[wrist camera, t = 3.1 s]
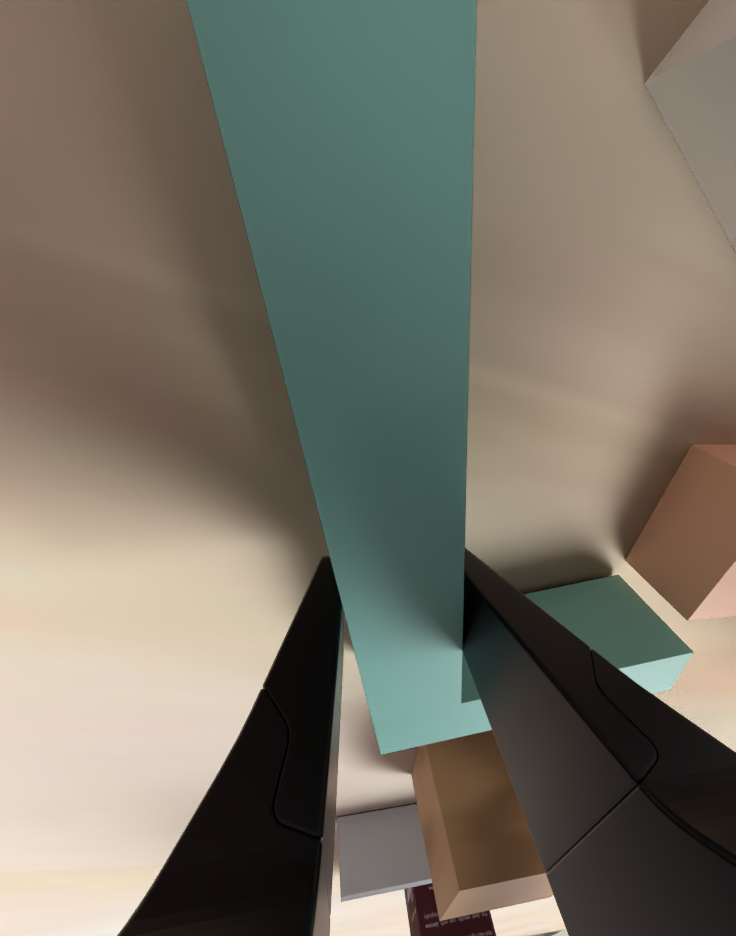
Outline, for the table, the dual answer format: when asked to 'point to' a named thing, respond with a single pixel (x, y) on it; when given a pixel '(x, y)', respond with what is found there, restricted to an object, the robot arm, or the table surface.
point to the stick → (704, 104)
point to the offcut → (694, 536)
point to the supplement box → (429, 932)
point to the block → (474, 828)
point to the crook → (384, 327)
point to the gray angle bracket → (381, 852)
